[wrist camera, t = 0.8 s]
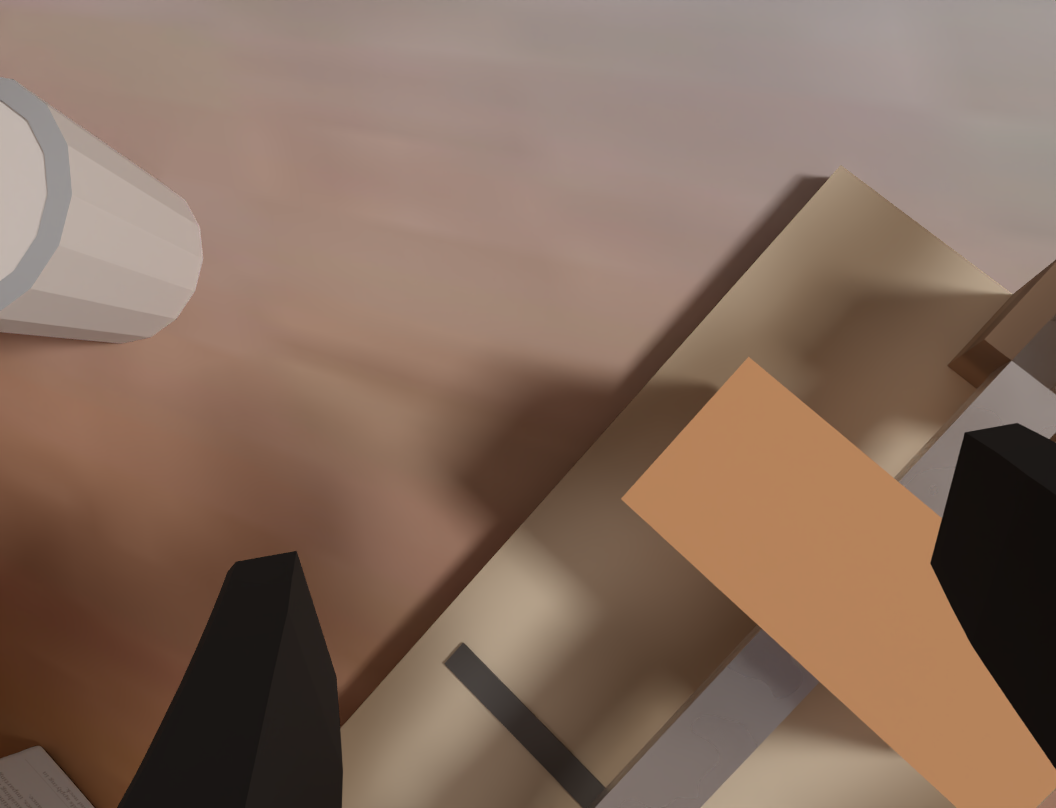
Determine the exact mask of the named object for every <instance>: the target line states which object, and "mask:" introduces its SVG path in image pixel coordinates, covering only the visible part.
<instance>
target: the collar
mask: <svg viewBox="0 0 1056 808" xmlns="http://www.w3.org/2000/svg"><path fill="white" fill-rule="evenodd" d="M621 499H622V500H623V501H624V502H625V503H626V504H627V505H628V506H629V507H630V508H631V509H632V510H633V511H635V512H636V513H637V514H638V515H639V516H640V517H641V518H642V519H643V520H644V521H645V522H647V523H648V524H649V525H650V526H651V527H652V528H653V529H654V530H655V531H656V532H657V533H658V534H660V535H661V536H662V537H663V538H664V539H665V540H666V541H667V542H668V543H669V544H670V545H672V546H673V547H674V548H675V549H676V550H677V551H678V552H679V553H680V554H681V555H682V556H684V557H685V558H686V559H687V560H688V561H689V562H690V563H691V564H692V565H693V566H694V567H695V568H697V569H698V570H699V571H700V572H701V573H702V574H703V575H704V576H705V577H706V578H707V579H709V580H710V581H711V582H712V583H713V584H714V585H715V586H716V587H717V588H718V589H719V590H720V591H722V592H723V593H724V594H725V595H726V596H727V597H728V598H729V599H730V600H731V601H732V602H734V603H735V604H736V605H737V606H738V607H739V608H740V609H741V610H742V611H743V612H744V613H745V614H747V615H748V616H749V617H750V618H751V619H752V620H753V621H754V622H755V623H756V624H757V625H759V626H760V627H761V628H762V629H763V630H764V631H765V632H766V633H767V634H768V635H769V636H770V637H772V638H773V639H774V640H775V641H776V642H777V643H778V644H779V645H780V646H781V647H782V648H784V649H785V650H786V651H787V652H788V653H789V654H790V655H791V656H792V657H793V658H794V659H795V660H797V661H798V662H799V663H800V664H801V665H802V666H803V667H804V668H805V669H806V670H807V671H809V672H810V673H811V674H812V675H813V676H814V677H815V678H816V679H817V680H818V681H819V682H821V683H822V684H823V685H824V686H825V687H826V688H827V689H828V690H829V691H830V692H831V693H832V694H834V695H835V696H836V697H837V698H838V699H839V700H840V701H841V702H842V703H843V704H844V705H846V706H847V707H848V708H849V709H850V710H851V711H852V712H853V713H854V714H855V715H856V716H857V717H859V718H860V719H861V720H862V721H863V722H864V723H865V724H866V725H867V726H868V727H869V728H871V729H872V730H873V731H874V732H875V733H876V734H877V735H878V736H879V737H880V738H881V739H882V740H884V741H885V742H886V743H887V744H888V745H889V746H890V747H891V748H892V749H893V750H894V751H896V752H897V753H898V754H899V755H900V756H901V757H902V758H903V759H904V760H905V761H906V762H907V763H909V764H910V765H911V766H912V767H913V768H914V769H915V770H916V771H917V772H918V773H919V774H921V775H922V776H923V777H924V778H925V779H926V780H927V781H928V782H929V783H930V784H931V785H933V786H934V787H935V788H936V789H937V790H938V791H939V792H940V793H941V794H942V795H943V796H944V797H946V798H947V799H948V800H949V801H950V802H951V803H952V804H953V805H954V806H955V807H956V808H1036V807H1037V806H1038V805H1039V804H1040V803H1041V802H1042V801H1043V800H1044V799H1045V798H1046V797H1047V796H1048V795H1049V794H1050V793H1051V792H1052V791H1053V790H1054V789H1055V788H1056V769H1055V768H1054V766H1053V765H1052V763H1051V762H1050V760H1049V759H1048V758H1047V756H1046V755H1045V753H1044V752H1043V750H1042V749H1041V747H1040V746H1039V744H1038V743H1037V742H1036V740H1035V739H1034V737H1033V736H1032V734H1031V733H1030V731H1029V730H1028V728H1027V727H1026V726H1025V724H1024V723H1023V721H1022V720H1021V718H1020V717H1019V715H1018V714H1017V712H1016V711H1015V710H1014V708H1013V707H1012V705H1011V704H1010V702H1009V701H1008V699H1007V698H1006V696H1005V695H1004V693H1003V692H1002V690H1001V689H1000V687H999V686H998V684H997V683H996V681H995V680H994V678H993V677H992V675H991V674H990V673H989V671H988V670H987V668H986V667H985V665H984V664H983V662H982V660H981V659H980V657H979V656H978V654H977V653H976V651H975V650H974V648H973V647H972V645H971V643H970V642H969V640H968V638H967V636H966V634H965V632H964V630H963V628H962V626H961V624H960V623H959V621H958V619H957V617H956V615H955V613H954V611H953V609H952V607H951V605H950V603H949V601H948V599H947V597H946V595H945V593H944V591H943V589H942V587H941V585H940V583H939V580H938V578H937V576H936V574H935V572H934V570H933V568H932V566H931V564H930V562H931V558H932V554H933V551H934V547H935V543H936V539H937V536H938V532H939V528H940V524H941V520H942V518H941V517H940V516H939V515H938V514H936V513H935V512H934V511H933V510H932V509H930V508H929V507H928V506H927V505H926V504H924V503H923V502H922V501H921V500H920V499H918V498H917V497H916V496H915V495H914V494H912V493H911V492H910V491H909V490H908V489H906V488H905V487H904V486H903V485H902V484H900V483H899V482H898V481H897V480H896V479H894V478H893V477H892V476H891V475H890V474H888V473H887V472H886V471H885V470H884V469H882V468H881V467H880V466H879V465H878V464H876V463H875V462H874V461H873V460H872V459H870V458H869V457H868V456H867V455H866V454H865V453H863V452H862V451H861V450H860V449H859V448H857V447H856V446H855V445H854V444H853V443H851V442H850V441H849V440H848V439H847V438H845V437H844V436H843V435H842V434H841V433H839V432H838V431H837V430H836V429H835V428H833V427H832V426H831V425H830V424H829V423H827V422H826V421H825V420H824V419H823V418H821V417H820V416H819V415H818V414H817V413H815V412H814V411H813V410H812V409H811V408H809V407H808V406H807V405H806V404H805V403H803V402H802V401H801V400H800V399H799V398H797V397H796V396H795V395H794V394H793V393H791V392H790V391H789V390H788V389H787V388H786V387H784V386H783V385H782V384H781V383H780V382H778V381H777V380H776V379H775V378H774V377H772V376H771V375H770V374H769V373H768V372H766V371H765V370H764V369H763V368H762V367H760V366H759V365H758V364H757V363H756V362H754V361H753V360H752V359H751V358H750V357H748V358H747V359H746V360H745V361H744V362H743V363H742V365H741V366H740V367H739V368H738V369H737V370H736V371H735V372H734V373H733V375H732V376H731V377H730V378H729V379H728V380H727V381H726V382H725V383H724V385H723V386H722V387H721V388H720V389H719V390H718V391H717V392H716V394H715V395H714V396H713V397H712V398H711V399H710V400H709V401H708V402H707V404H706V405H705V406H704V407H703V408H702V409H701V410H700V411H699V412H698V414H697V415H696V416H695V417H694V418H693V419H692V420H691V421H690V422H689V424H688V425H687V426H686V427H685V428H684V429H683V430H682V431H681V432H680V434H679V435H678V436H677V437H676V438H675V439H674V440H673V441H672V442H671V444H670V445H669V446H668V447H667V448H666V449H665V450H664V451H663V453H662V454H661V455H660V456H659V457H658V458H657V459H656V460H655V461H654V463H653V464H652V465H651V466H650V467H649V468H648V469H647V470H646V471H645V473H644V474H643V475H642V476H641V477H640V478H639V479H638V480H637V481H636V483H635V484H634V485H633V486H632V487H631V488H630V489H629V490H628V491H627V493H626V494H625V495H624V496H623V497H622V498H621Z"/></svg>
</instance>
